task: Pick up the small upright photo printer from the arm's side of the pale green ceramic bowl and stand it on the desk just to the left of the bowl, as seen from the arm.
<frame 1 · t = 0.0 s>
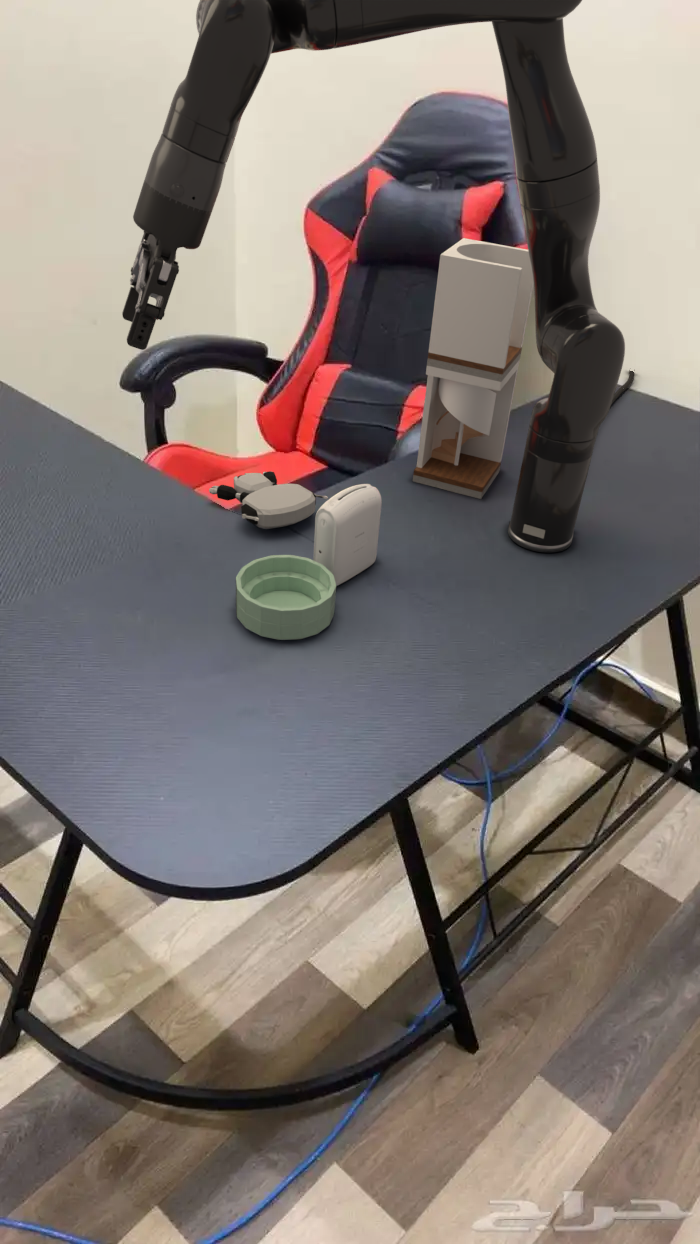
hand: (132, 333, 108), 31 cm above the table, tool tilted 20°, fingers open, 8 cm apart
robot toy: (266, 513, 140), on the table
white tower: (456, 477, 154), on the table
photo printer: (344, 572, 129), on the table
bowl: (284, 614, 120), on the table
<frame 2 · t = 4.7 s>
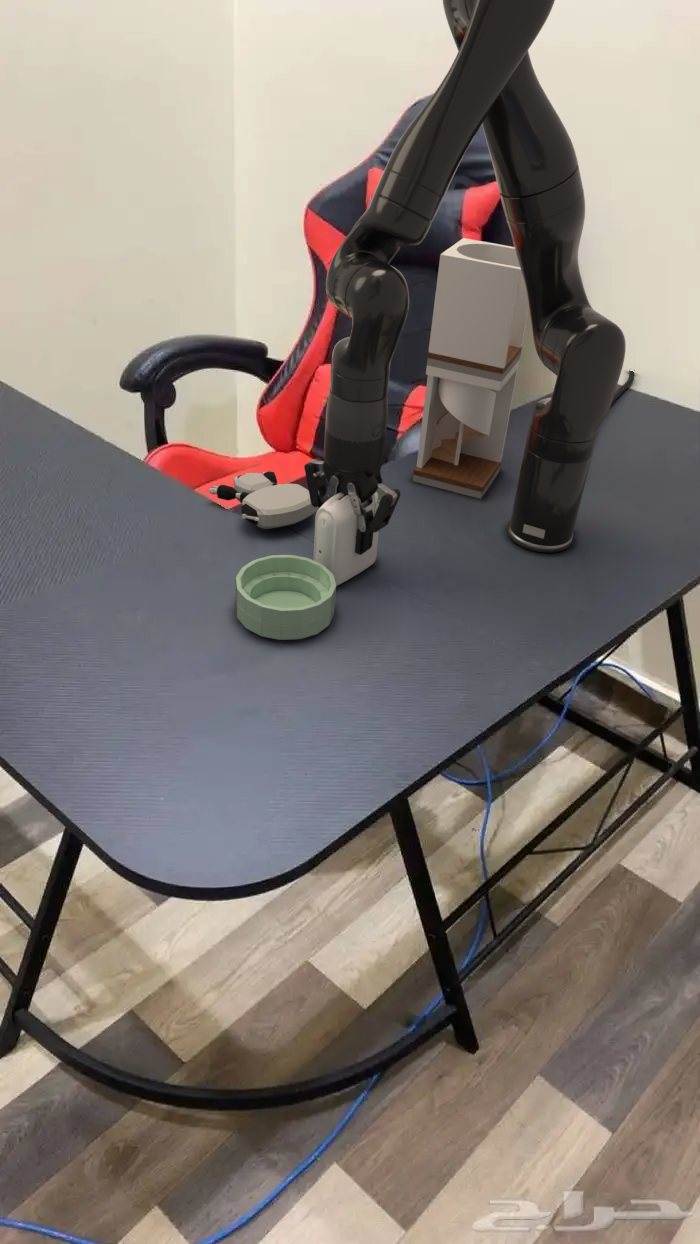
hand: (346, 544, 126), 4 cm above the table, tool pointing down, fingers closed on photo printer, 4 cm apart
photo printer: (344, 572, 129), on the table, touching gripper
everything else where it was.
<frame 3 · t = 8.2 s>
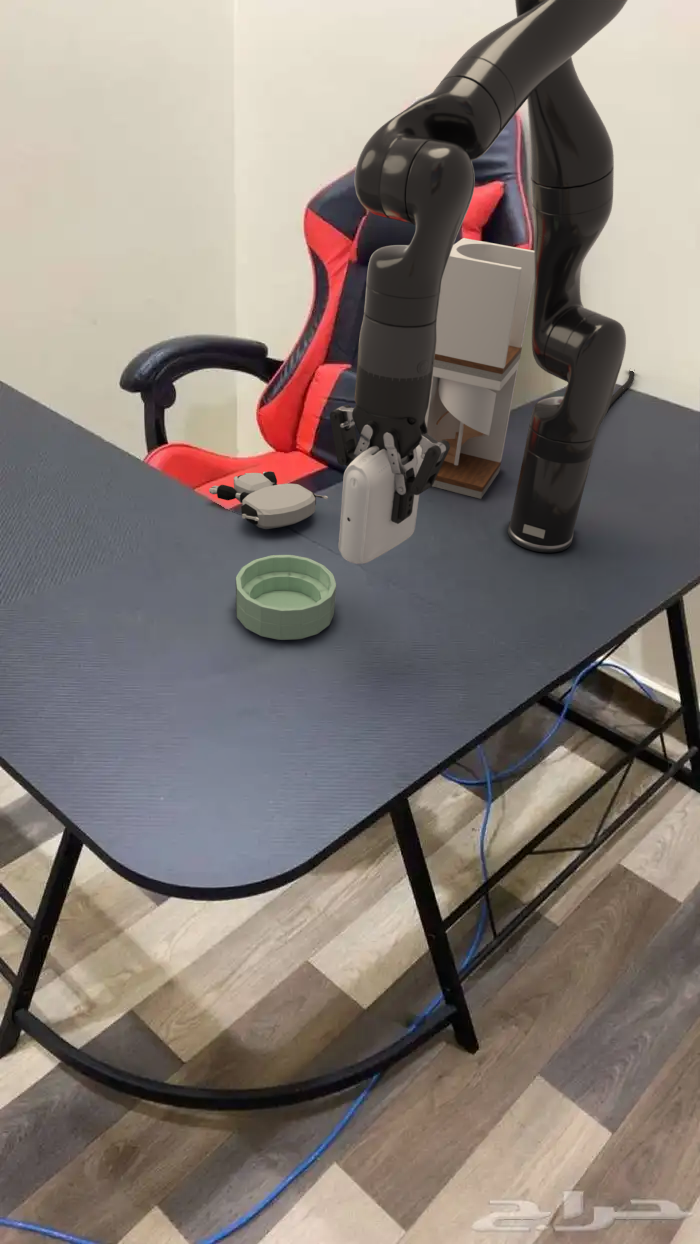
hand: (380, 511, 103), 19 cm above the table, tool pointing down, fingers closed on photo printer, 4 cm apart
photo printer: (376, 546, 106), point 15 cm above the table, touching gripper
everything else where it was.
when the fingers open (4 cm above the table, at t = 11.9 s): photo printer stays where it is, on the table.
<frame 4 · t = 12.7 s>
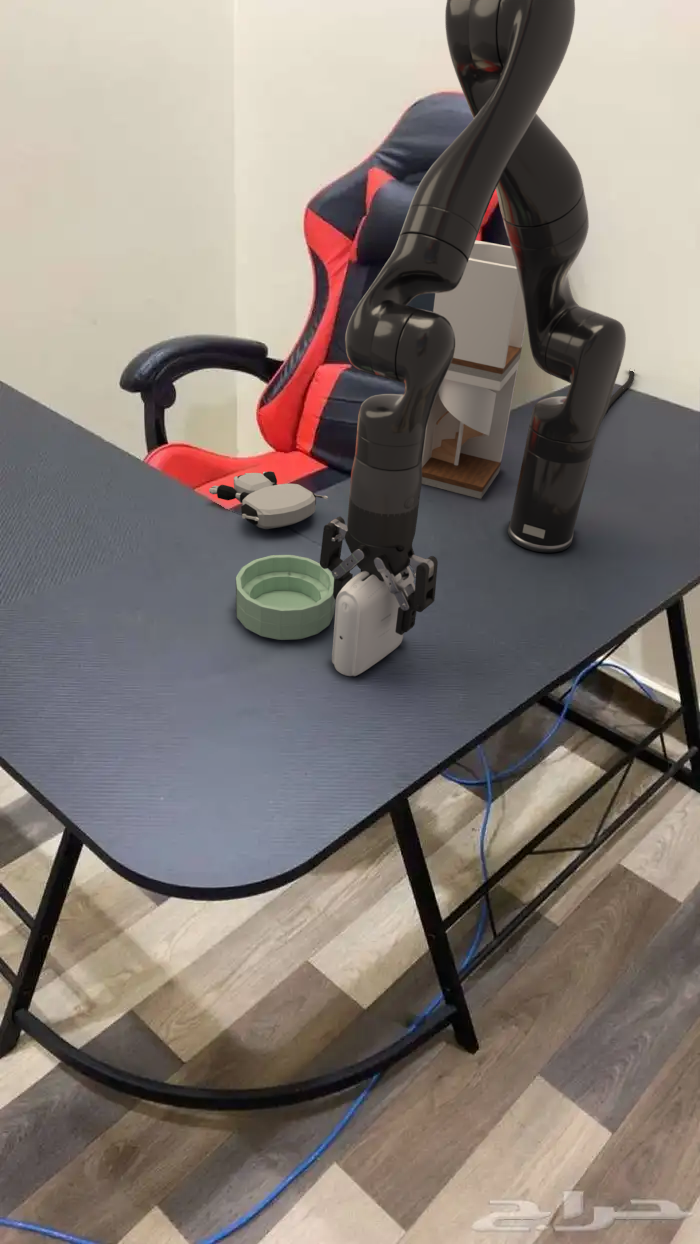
hand: (372, 616, 111), 6 cm above the table, tool pointing down, fingers open, 8 cm apart
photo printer: (366, 656, 114), on the table
everything else where it was.
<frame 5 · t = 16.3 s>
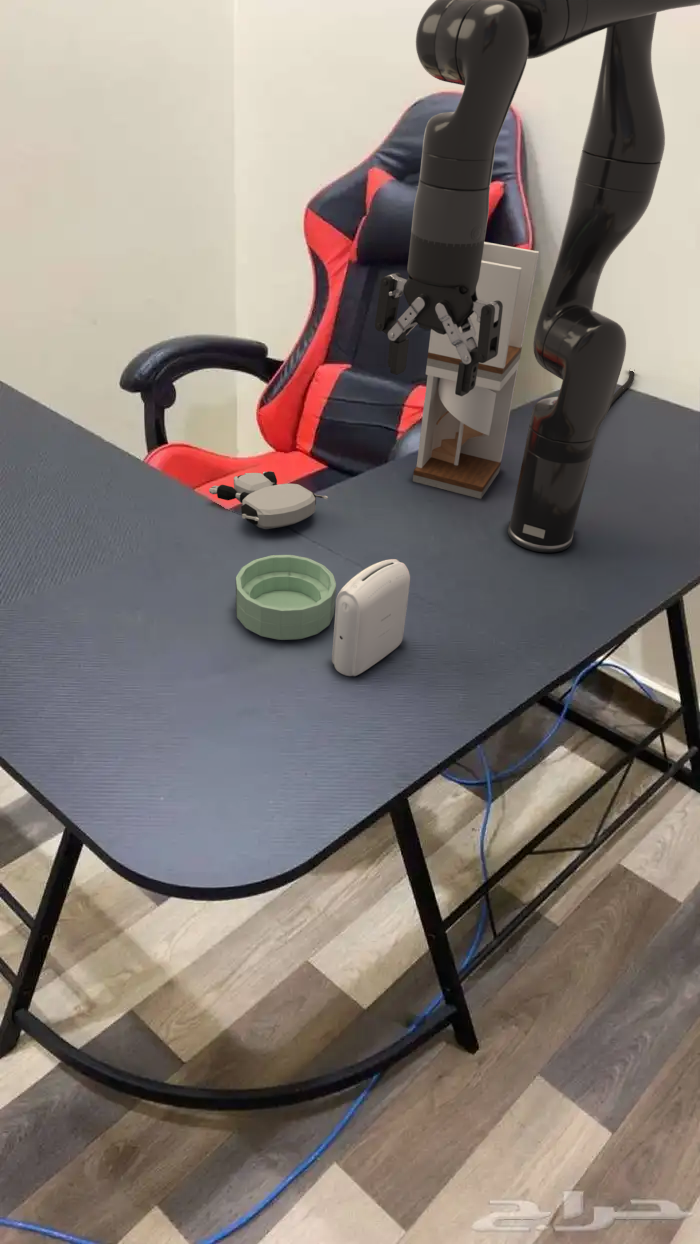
hand: (429, 382, 106), 30 cm above the table, tool pointing down, fingers open, 8 cm apart
nothing on the table moved.
at the end: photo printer inside the target area on the table beside the bowl (0.1 cm from its centre), on the table; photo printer tilted 0°; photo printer touching table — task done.
